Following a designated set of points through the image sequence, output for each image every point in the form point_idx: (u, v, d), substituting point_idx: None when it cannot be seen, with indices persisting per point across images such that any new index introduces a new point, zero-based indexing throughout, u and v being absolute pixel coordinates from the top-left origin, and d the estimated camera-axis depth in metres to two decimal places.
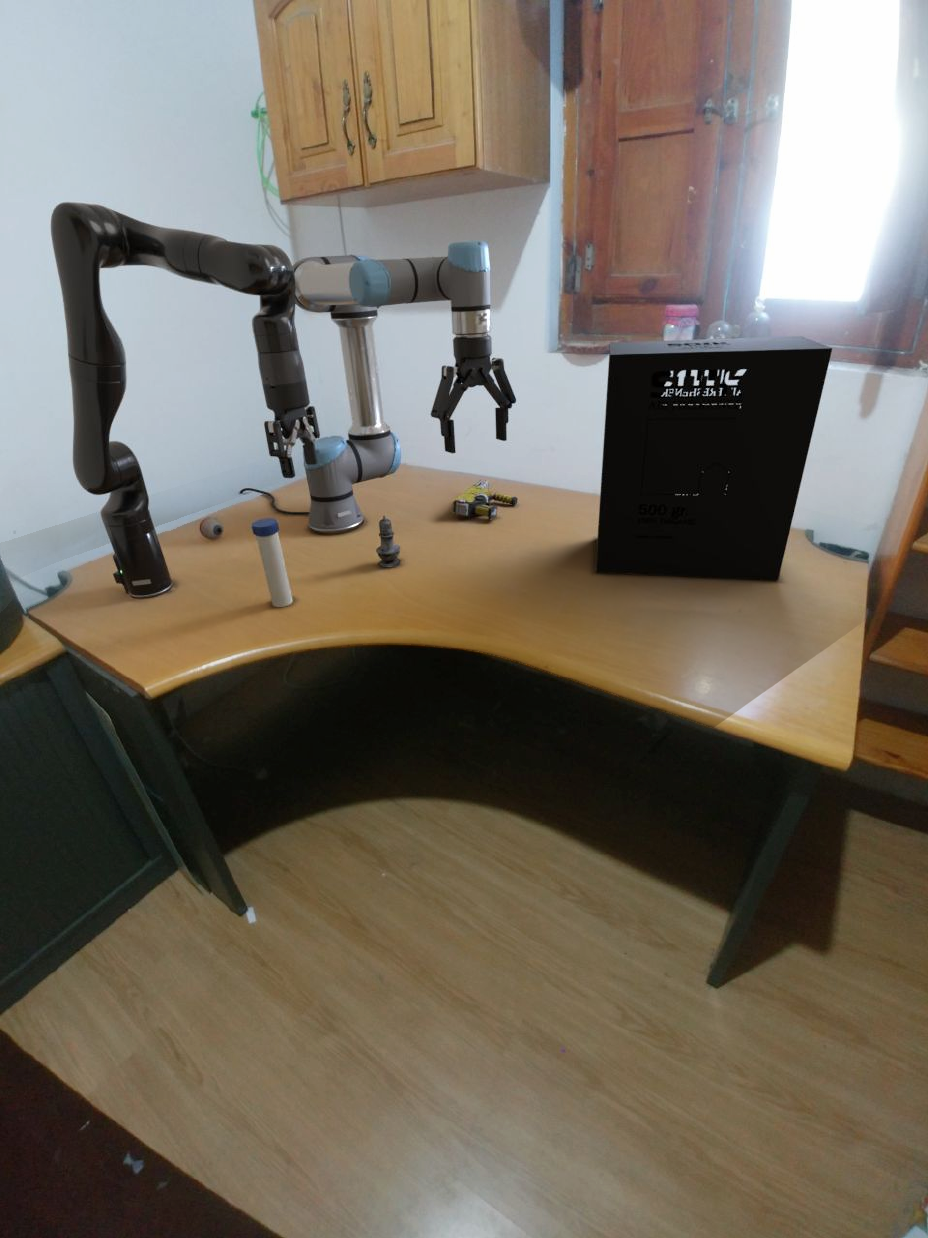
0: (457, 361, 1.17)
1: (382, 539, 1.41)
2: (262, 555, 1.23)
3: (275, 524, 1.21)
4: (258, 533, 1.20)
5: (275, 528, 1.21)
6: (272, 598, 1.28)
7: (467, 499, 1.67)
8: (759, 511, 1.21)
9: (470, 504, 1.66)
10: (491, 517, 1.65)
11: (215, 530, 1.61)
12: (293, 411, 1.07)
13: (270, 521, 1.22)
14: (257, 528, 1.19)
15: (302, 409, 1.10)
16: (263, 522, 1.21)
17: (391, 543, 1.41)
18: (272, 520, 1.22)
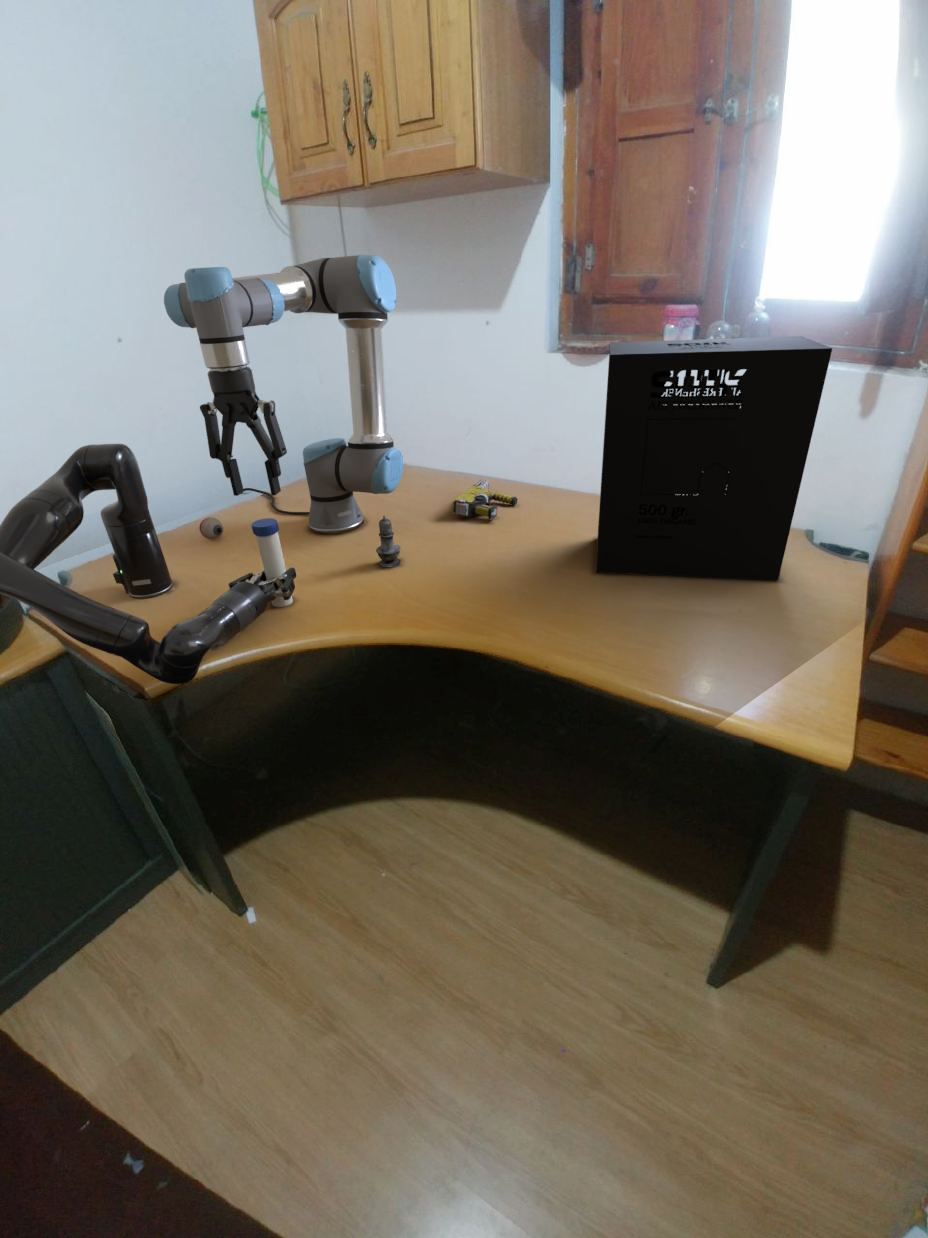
0: (254, 392, 1.08)
1: (382, 539, 1.41)
2: (262, 555, 1.23)
3: (275, 524, 1.21)
4: (258, 533, 1.20)
5: (275, 528, 1.21)
6: None
7: (467, 499, 1.67)
8: (759, 511, 1.21)
9: (470, 504, 1.66)
10: (491, 517, 1.65)
11: (215, 530, 1.61)
12: None
13: (270, 521, 1.22)
14: (257, 528, 1.19)
15: None
16: (263, 522, 1.21)
17: (391, 543, 1.41)
18: (272, 520, 1.22)
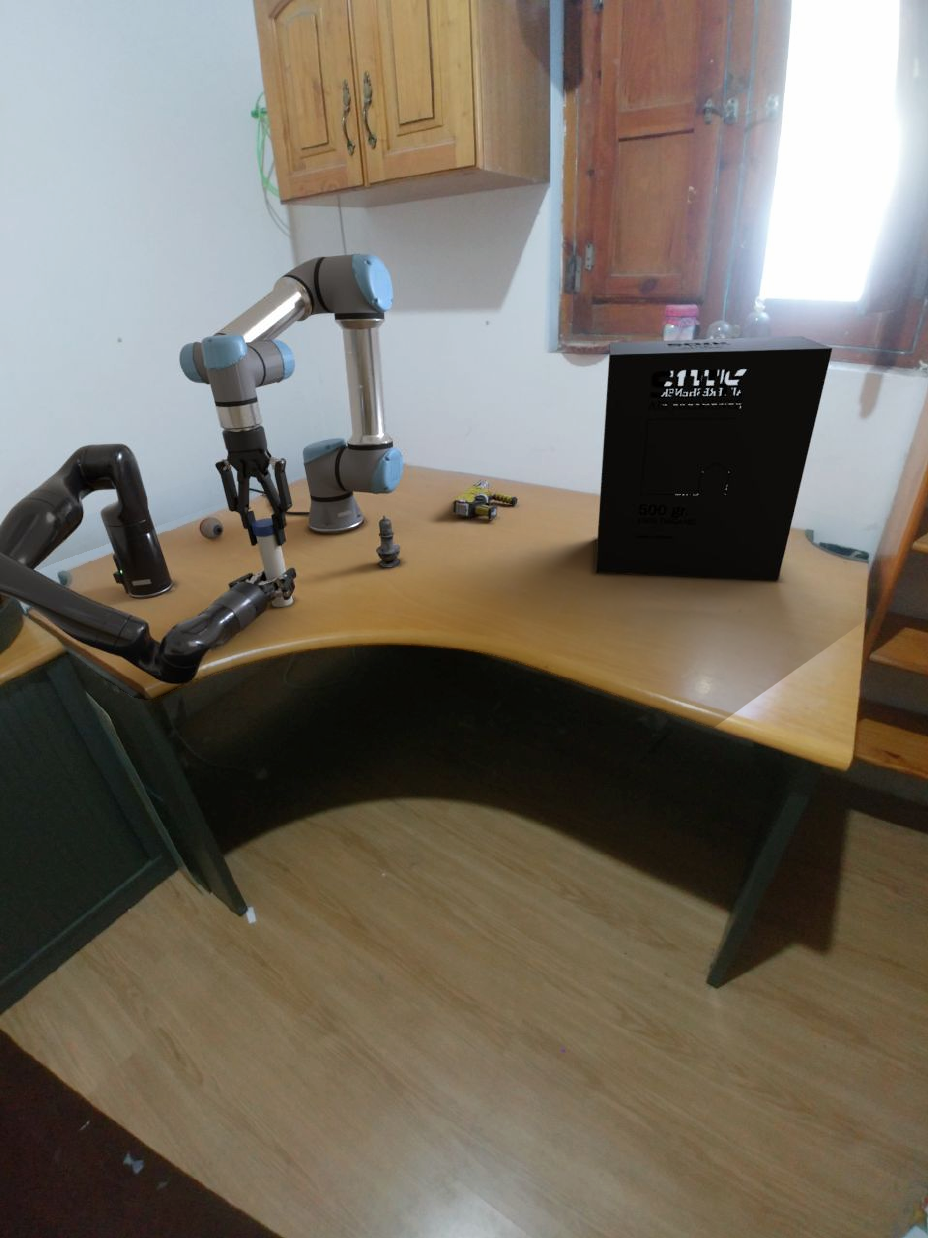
0: (266, 450, 1.13)
1: (382, 539, 1.41)
2: (262, 555, 1.23)
3: None
4: (258, 533, 1.20)
5: None
6: None
7: (467, 499, 1.67)
8: (759, 511, 1.21)
9: (470, 504, 1.66)
10: (491, 517, 1.65)
11: (215, 530, 1.61)
12: None
13: (270, 521, 1.22)
14: (257, 528, 1.19)
15: None
16: (263, 522, 1.21)
17: (391, 543, 1.41)
18: None
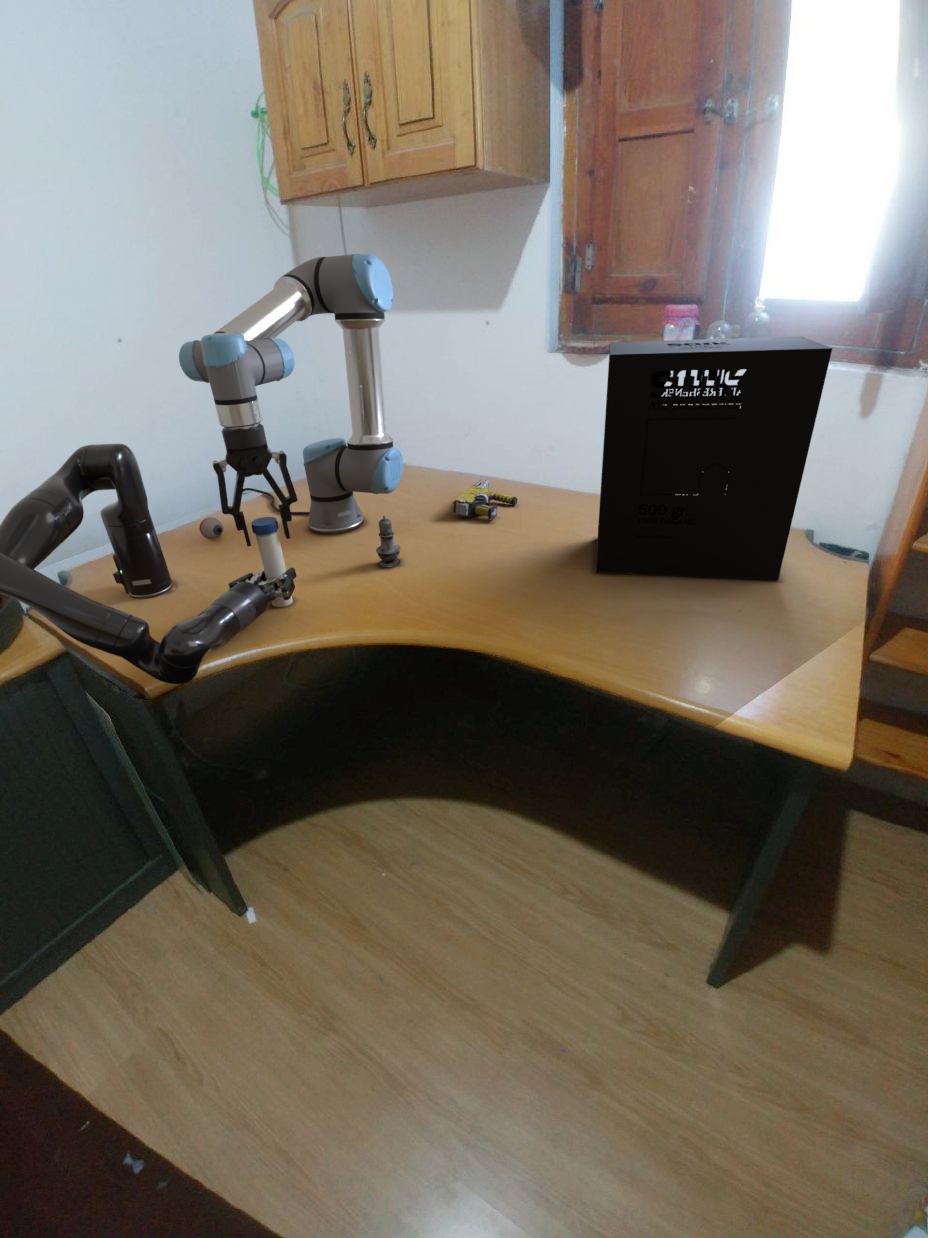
0: (267, 445, 1.15)
1: (382, 539, 1.41)
2: (262, 555, 1.23)
3: None
4: (277, 527, 1.22)
5: None
6: None
7: (467, 499, 1.67)
8: (759, 511, 1.21)
9: (470, 504, 1.66)
10: (491, 517, 1.65)
11: (215, 530, 1.61)
12: None
13: (261, 519, 1.22)
14: (276, 522, 1.21)
15: None
16: (263, 521, 1.21)
17: (391, 543, 1.41)
18: (259, 519, 1.22)
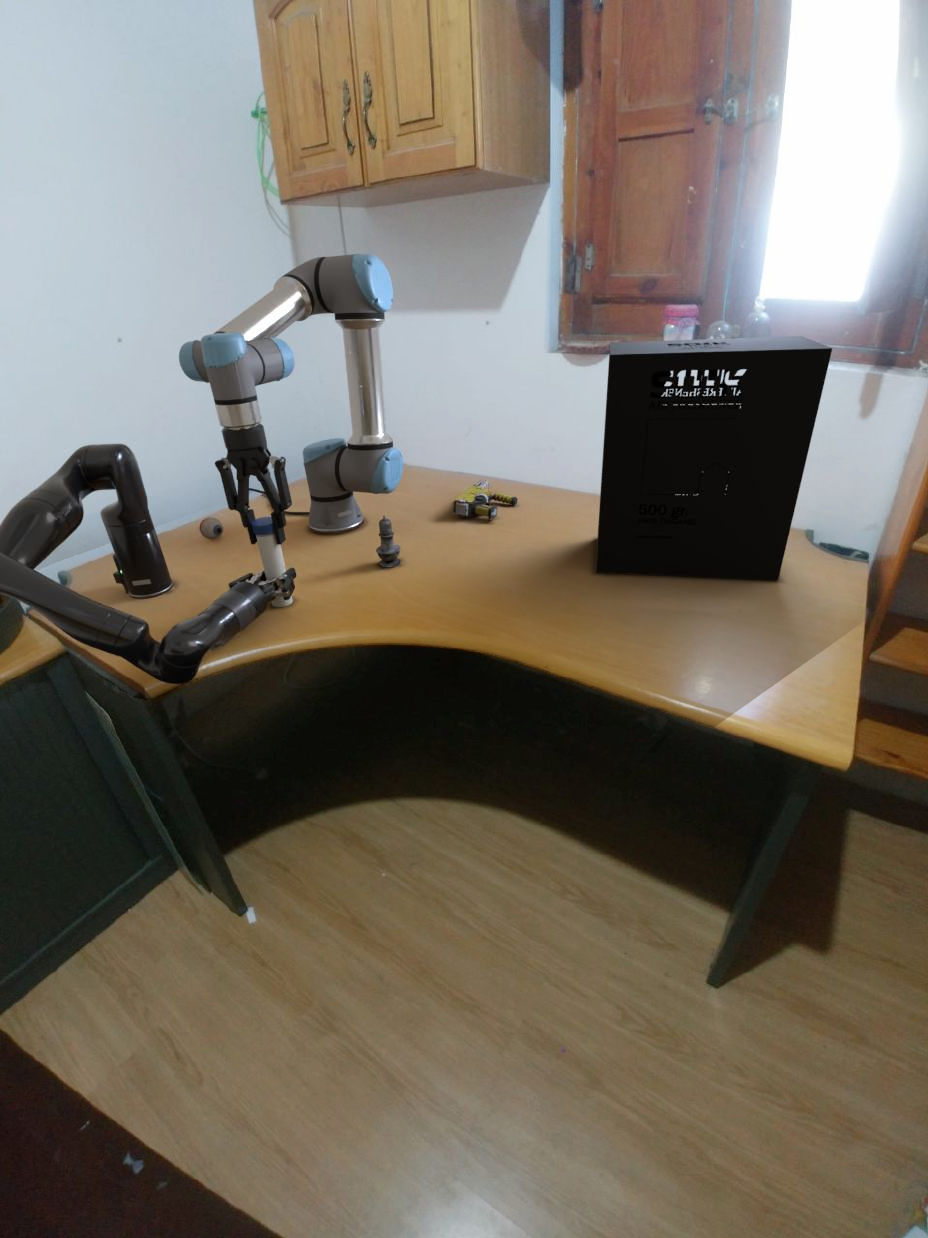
0: (266, 448, 1.13)
1: (382, 539, 1.41)
2: (262, 555, 1.23)
3: None
4: None
5: None
6: None
7: (467, 499, 1.67)
8: (759, 511, 1.21)
9: (470, 504, 1.66)
10: (491, 517, 1.65)
11: (215, 530, 1.61)
12: None
13: (261, 519, 1.22)
14: None
15: None
16: (263, 521, 1.21)
17: (391, 543, 1.41)
18: (259, 519, 1.22)
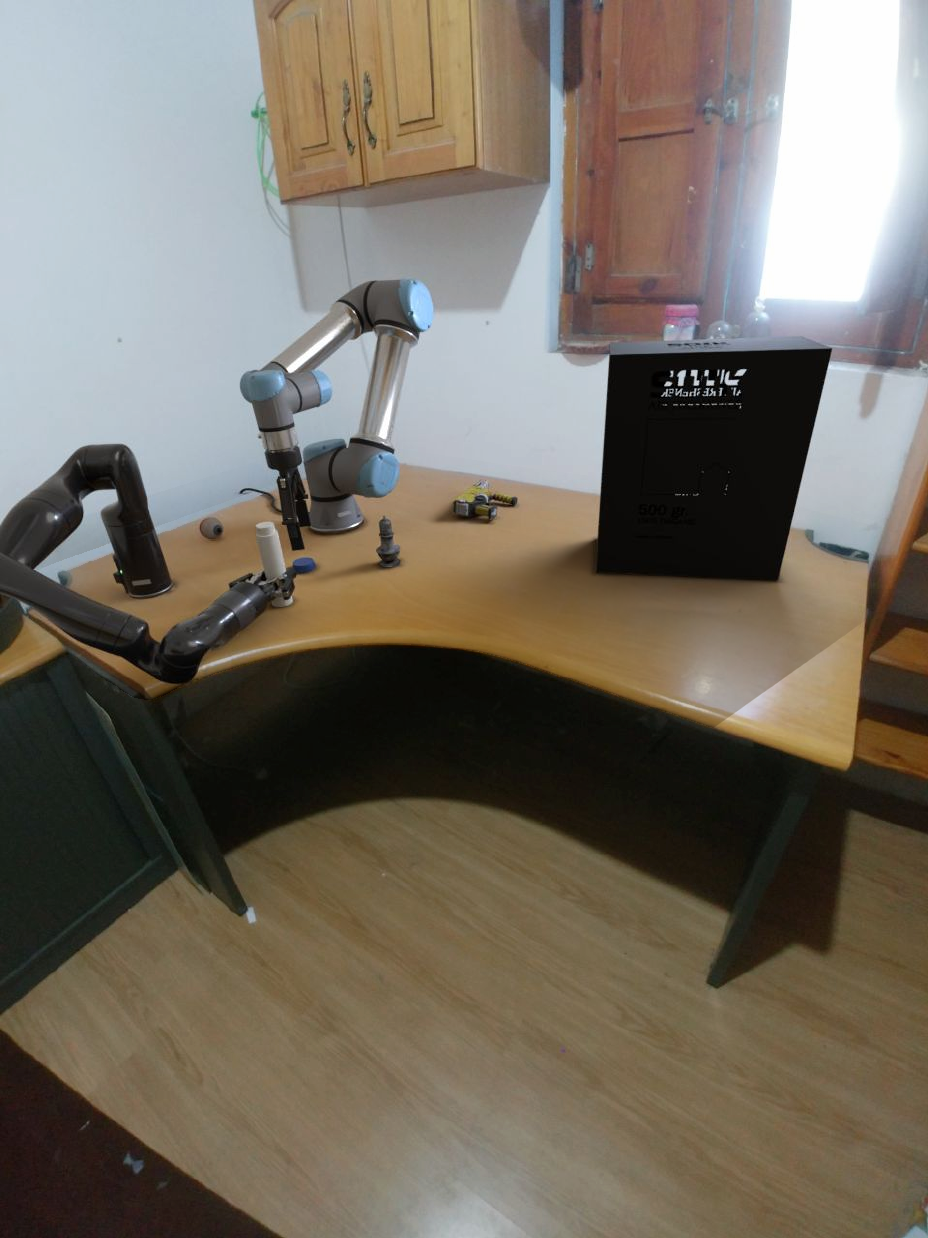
0: None
1: (382, 539, 1.41)
2: (262, 555, 1.23)
3: None
4: None
5: None
6: None
7: (467, 499, 1.67)
8: (759, 511, 1.21)
9: (470, 504, 1.66)
10: (491, 517, 1.65)
11: (215, 530, 1.61)
12: None
13: (298, 563, 1.43)
14: None
15: None
16: (303, 561, 1.44)
17: (391, 543, 1.41)
18: (298, 564, 1.43)
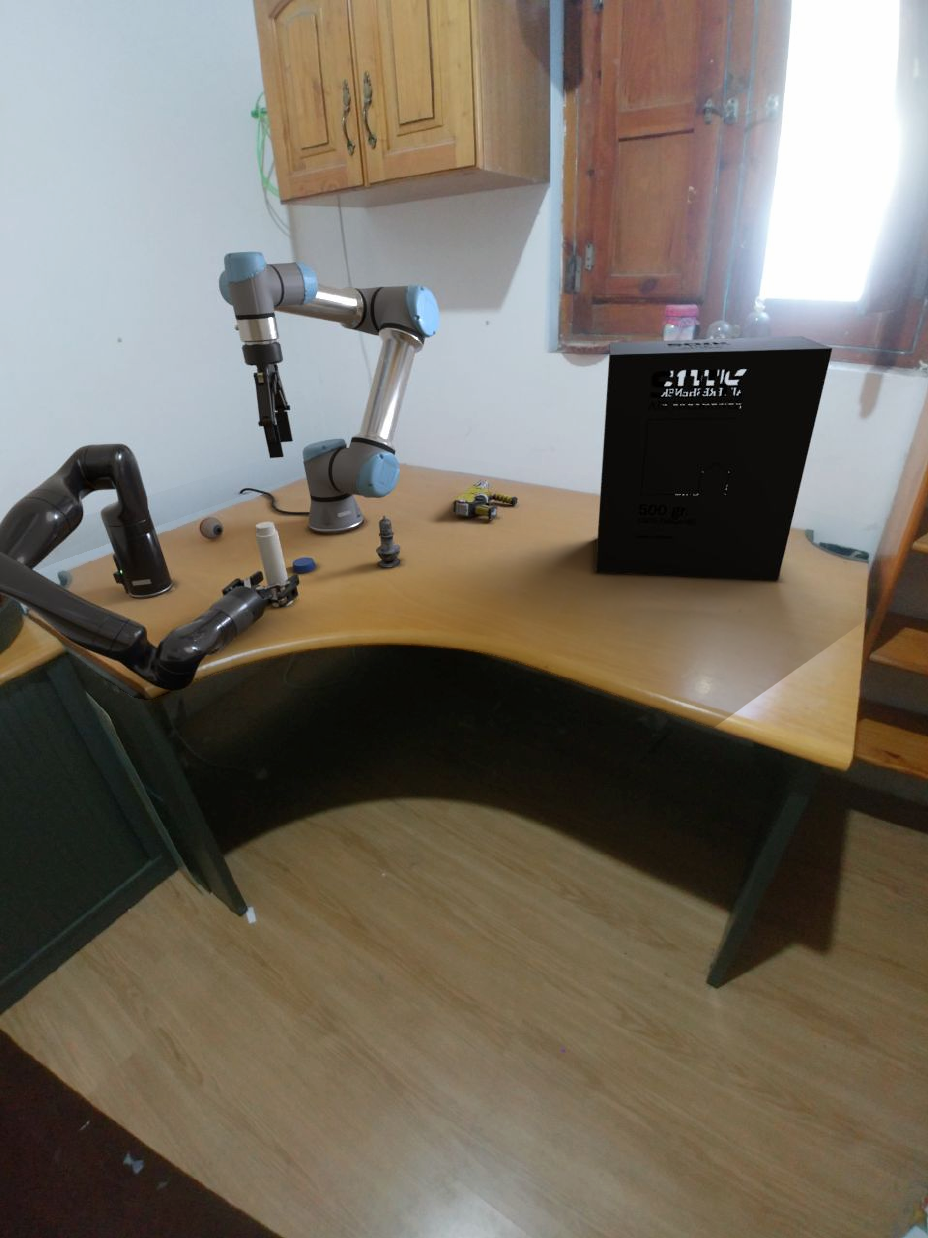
0: None
1: (382, 539, 1.41)
2: (262, 555, 1.23)
3: None
4: None
5: None
6: None
7: (467, 499, 1.67)
8: (759, 511, 1.21)
9: (470, 504, 1.66)
10: (491, 517, 1.65)
11: (215, 530, 1.61)
12: None
13: (298, 563, 1.43)
14: None
15: None
16: (303, 561, 1.44)
17: (391, 543, 1.41)
18: (298, 564, 1.43)
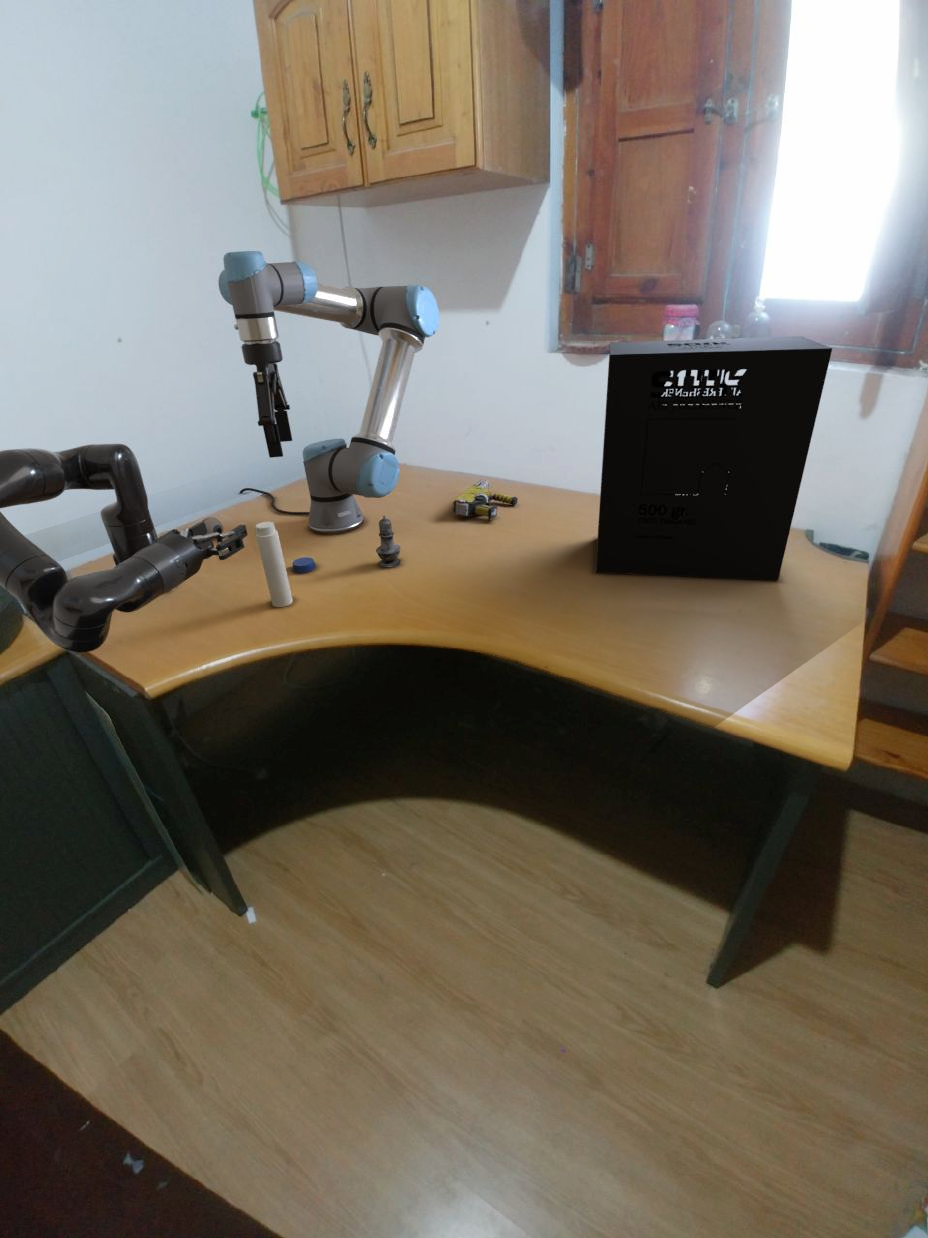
0: None
1: (382, 539, 1.41)
2: (262, 555, 1.23)
3: None
4: None
5: None
6: (272, 598, 1.28)
7: (467, 499, 1.67)
8: (759, 511, 1.21)
9: (470, 504, 1.66)
10: (491, 517, 1.65)
11: (215, 530, 1.61)
12: None
13: (298, 563, 1.43)
14: None
15: None
16: (303, 561, 1.44)
17: (391, 543, 1.41)
18: (298, 564, 1.43)
